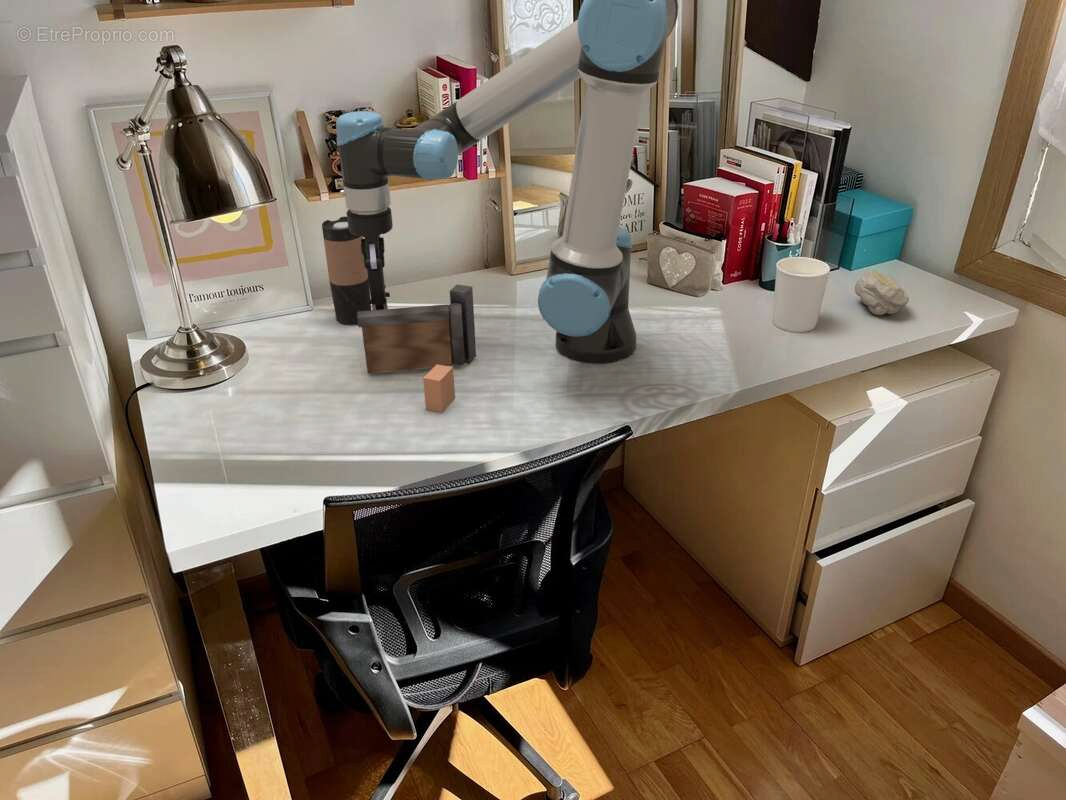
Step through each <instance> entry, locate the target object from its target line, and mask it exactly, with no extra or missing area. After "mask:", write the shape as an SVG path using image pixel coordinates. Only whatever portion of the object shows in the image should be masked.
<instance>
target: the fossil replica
mask: <svg viewBox="0 0 1066 800" xmlns="http://www.w3.org/2000/svg"><path fill="white" fill-rule="evenodd" d="M854 293H855V294H856V295H857V296H858V297H859V298H860V301H861V303H863V304H864V305H866V306H868V307H867V308H868V309H869V311H870V312H871V313H872V314H874V315H876V316H883V315H884V314H887V315H892V314H896V313H898V312H899V310H901V308H903V307H905V306H907V305H908V303H909V302H910V301H909V300H910V297H909V295H908V294H907V292H906V291H905V289H904V288H903V287H902V286H901V285H900V284H898V282H897V281H896V279H894V277H893V276H892V275H889V274H887V273H884V272H880V271H878V270H875V269H869V270H867V271H866V272H865V273H864V274H861V276H860V278H859V279H857V281H856V283H855V286H854Z"/></svg>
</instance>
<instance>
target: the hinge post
mask: <svg viewBox="0 0 1066 800" xmlns="http://www.w3.org/2000/svg"><path fill="white" fill-rule="evenodd" d="M473 291H474V290H473V286H471V285H465V284H464V285H462V284H455V285H454V287H452V288H451V289H450V290H449V301H450V302H449V304H451V303H459V304H461V309H462V324H463V340H464V355H465V363H464V364H468V365H470V364H471V363H472V362H473V361H474V360H475V359H476V358H475V357H477V348H476V328H475V327H476V326H475V310H474V292H473Z"/></svg>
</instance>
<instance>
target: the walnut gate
mask: <svg viewBox="0 0 1066 800" xmlns="http://www.w3.org/2000/svg"><path fill="white" fill-rule="evenodd" d="M357 320H358V325H357V326H358V328H361V332H362V333H361V334H362V341H363V347H364V355H365V363H366V370H367V371H366V372H367V374H374V373H386V372H387V373H388V372H397V371H399V372H400V371H410V370H420V369H428V368H429V369H433V368H434V367H435V366H436V365H437V364H438V365H444V366H450V367H453V366H454V367H455V366H458V367H459V366H463V365H465V364H466V363H465V355H464V340H463V324H462V309H461V304H459V303H449V304H446V303H445V304H434V305H424V306H410V307H399V308H398V307H396V308H388V309H383V310H372V309H371V311H359V312H357Z"/></svg>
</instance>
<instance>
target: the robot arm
mask: <svg viewBox="0 0 1066 800" xmlns="http://www.w3.org/2000/svg"><path fill="white" fill-rule="evenodd" d="M678 15H679V0H583V2H582V3H581V6H580V9H579V13H578V16H577V19H576V20H575V21H573V22H572V23H570V24H569V25H568V26H566V27H565V28H562V29H561V30H560V31H559V32H557V33H555V34H553V35H552V36H551V37H549V39H548V38H547V40H545V41H543V42H542V43H540V44H539V45H538V46H536V47H535V48H533V49H532V50H531V51H529V52H528V53H526V54H524V55H522V56H521V57H520V58H519V59H517V60H516V61H514V62H512V63H510V64H509V65H508V66H507V67H505V68H503V69H502V70H501V71H500V72H498V73H496V74H495V75H494V76H492V77H490V78H489V79H488V80H486V81H484V82H483V83H482V84H480V85H478V86H477V87H475V88H474V89H472V90H471V91H469V92H468V93H466V94H465V95H464V96H462V97H460V98H459V99H458V100H457V101H455V102H453V103H452V104H450V105H449V106H447V107H446V108H444V109H442V110H440V111H439V112H438V113H436V114H435V115H434V116H432V117H431V118H429V119H427V120H425V121H423V122H422V123H421V124H419V125H417V126H415V127H414V128H394V127H389V126H388V127H386V126H384V125H385V124H384V121H383V118H382V115H381V114H380V113H377V112H373V111H369V110H359V111H350V112H346V113H343V114H342V115H339V117H338V118H337V119H336V122H335V126H336V127H335V129H336V141H337V143H336V146H337V149H338V156H339V162H340V168H341V170H340V171H341V177H342V184H343V189H342V190H340V191H339V192H340V196H345V197H344V203H345V207H346V208H347V210H346V217H347V221H348V229H349V231H350V232H351V233H352V234H354V235H357V236H363V239H361V252H362V254H363V256H364V264H365V268H366V269H367V272H368V279H369V288H370V300H368V304H371V310H383V309H389V308H388V299H387V298H390V297H391V296H390V291H389V292H386V289H387V288H386V284H385V274H384V267H385V265H386V263H385V252H386V251H385V238H384V237H381V235H385V234H387V233H389V232H390V231H392V230H393V227H394V226H393V225H394V223H393V215H392V209H391V207H390V205H392V203H391V202H392V201H391V194H390V193H391V191H390V182H389V178H388V177H403V178H413V179H414V178H415V179H424V180H429V181H433V180H447V179H450V178H451V177H453V175H454V174H455V170H456V169H457V167H458V161H459V155H461V154H462V153H464V152H465V151H467V150H468V149H470V148H472V147H473V146H474V145H476V144H477V143H479V142H481V140H483V139H485V138H486V137H488V136H490V135H492V134H493V133H494V132H496V131H498V130H499V129H501V128H503V127H504V126H505V125H507V124H509V123H510V122H512V121H513V120H515V119H517V118H518V117H520V116H522V115H523V114H525V113H527V111H529V110H531V109H532V108H534V107H536V106H537V105H539V104H542V103H543V102H544V101H545V100H547V99H549V98H550V97H552V96H553V95H555V94H557V93H558V92H560V91H561V90H562V89H565V88H566V87H568V86H569V85H571V84H572V83H574V82H576V81H577V80H579V79H580V78H582V80H583V81H584V83H585V89H584V95H583V102H582V107H581V108H582V109H581V114H580V121H579V127H578V128H579V129H578V135H577V139H576V140H577V141H576V147H575V152H574V160H573V166H572V173H571V177H570V178H571V181H570V187H569V192H568V193H569V194H568V198H567V206H566V212H565V218H564V226H563V231H562V235H561V237H559V238H557V239H556V240H555V241H553V242H552V244H551V249H550V254H549V260H548V267H547V275H546V279H545V280H544V281H543V283H542V284H541V286H540V288H539V291H538V295H537V306H538V310H539V313H540V315H541V317H542V318H543V320H544V321H545V322H546V323H547V324H548V326H549V327H550V328H551V329H553V330H554V331H555V348H556V351H557V353H559V354H561V355H562V357H565V358H567V359H569V360H572V361H574V362H578V363H585V364H593V365H594V364H595V365H596V364H597V365H598V364H599V365H600V364H611V363H617V362H619V361H622V360H625V359H627V358H629V357H630V356H632V355H633V353H634V352H635V351H636V348H637V333H636V330H635V326H634V323H633V320H632V316H631V314H630V309H629V303H630V302H629V301H630V300H629V299H630V296H629V295H630V277H631V255H632V249H633V245H632V235H631V233H630V232H629V230H628V229H626V228H625V227H621V226H620V224H621V223H620V222H621V218H622V214H623V212H622V211H623V207H624V202H625V197H626V191H627V187H628V181H629V175H630V171H631V166H632V161H633V155H634V150H635V144H636V139H637V134H638V129H639V124H640V118H641V114H642V108H643V104H644V103H643V102H644V97H645V94H646V92H647V91H648V90H650V89H651V88H652V87H654V86H655V85H656V84H657V83H658V81H659V75H660V70H661V65H662V61H663V56H664V52H665V46H666V42H667V39H668V38H669V36H670V35H671V34H672V32H673V30H674V28H675V26H676V24H677V20H678Z"/></svg>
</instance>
